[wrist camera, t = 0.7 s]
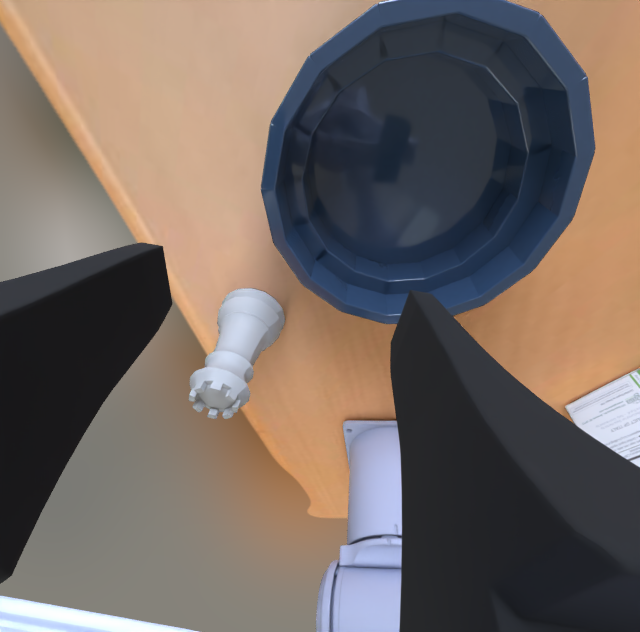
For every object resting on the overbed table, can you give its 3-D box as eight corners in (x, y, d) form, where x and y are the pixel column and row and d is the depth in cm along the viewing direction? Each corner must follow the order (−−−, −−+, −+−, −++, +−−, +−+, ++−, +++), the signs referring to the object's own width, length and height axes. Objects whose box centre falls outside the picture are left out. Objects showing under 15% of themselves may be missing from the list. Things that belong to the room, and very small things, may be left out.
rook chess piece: (271, 277, 21) (231, 367, 15) (295, 329, 24) (270, 426, 17) (212, 291, 22) (151, 380, 16) (240, 340, 25) (198, 433, 19)
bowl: (509, 272, 19) (542, 318, 16) (304, 284, 21) (293, 328, 18) (575, -20, 12) (662, -56, 9) (258, 41, 14) (223, 32, 11)
